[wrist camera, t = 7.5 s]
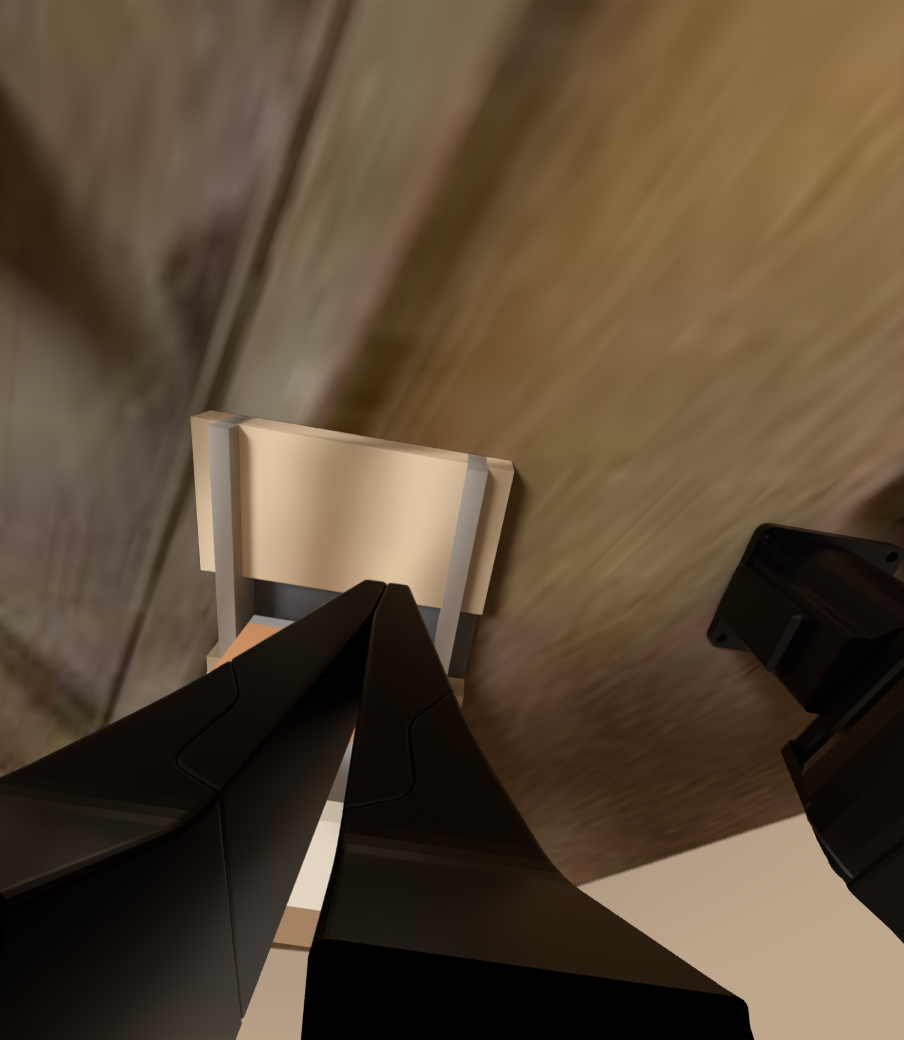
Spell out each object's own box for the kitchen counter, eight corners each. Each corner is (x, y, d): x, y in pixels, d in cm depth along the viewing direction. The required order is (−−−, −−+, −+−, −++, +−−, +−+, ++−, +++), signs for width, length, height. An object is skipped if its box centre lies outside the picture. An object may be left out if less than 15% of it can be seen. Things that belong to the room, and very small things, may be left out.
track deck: (511, 461, 20) (516, 477, 18) (426, 844, 30) (423, 883, 28) (210, 410, 19) (178, 420, 17) (230, 815, 30) (212, 853, 28)
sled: (422, 641, 21) (409, 723, 17) (385, 866, 28) (368, 965, 24) (254, 614, 21) (196, 690, 17) (257, 847, 28) (217, 944, 24)
